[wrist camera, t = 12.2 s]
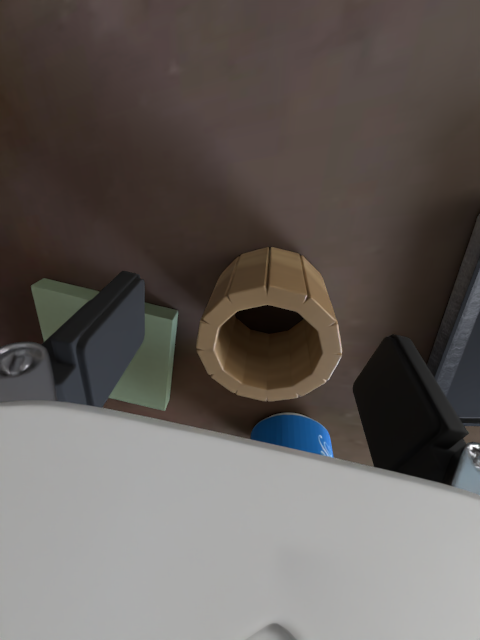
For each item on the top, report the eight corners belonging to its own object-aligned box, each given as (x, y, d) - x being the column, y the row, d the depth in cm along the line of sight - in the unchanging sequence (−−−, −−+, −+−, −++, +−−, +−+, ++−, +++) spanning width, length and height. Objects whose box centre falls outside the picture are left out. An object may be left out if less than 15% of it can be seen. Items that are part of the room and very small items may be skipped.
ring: (227, 235, 15) (207, 270, 11) (343, 264, 15) (368, 309, 11) (209, 330, 19) (189, 384, 15) (303, 353, 19) (310, 412, 15)
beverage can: (344, 436, 23) (396, 663, 13) (285, 461, 26) (290, 662, 16) (294, 394, 21) (309, 623, 11) (236, 427, 24) (206, 631, 14)
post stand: (44, 277, 18) (-70, 342, 12) (178, 310, 18) (131, 390, 12) (63, 374, 23) (-10, 453, 17) (169, 399, 23) (132, 486, 17)
